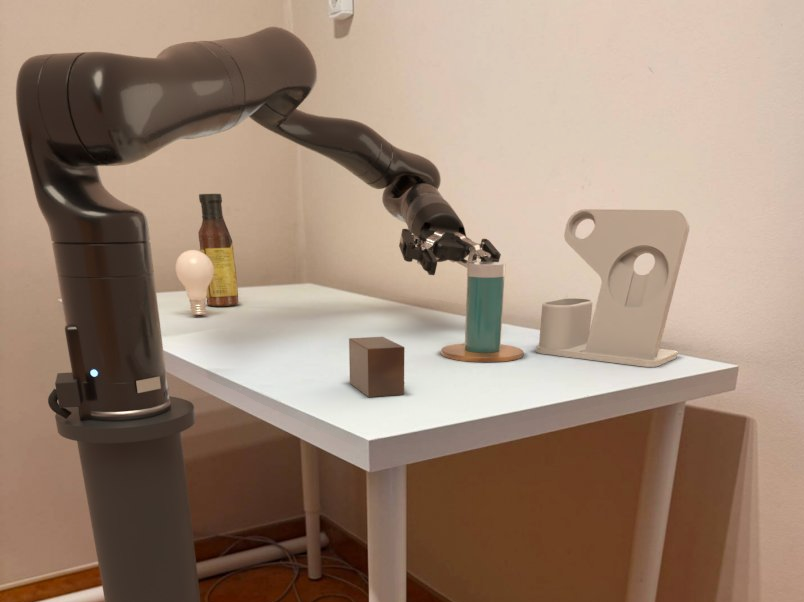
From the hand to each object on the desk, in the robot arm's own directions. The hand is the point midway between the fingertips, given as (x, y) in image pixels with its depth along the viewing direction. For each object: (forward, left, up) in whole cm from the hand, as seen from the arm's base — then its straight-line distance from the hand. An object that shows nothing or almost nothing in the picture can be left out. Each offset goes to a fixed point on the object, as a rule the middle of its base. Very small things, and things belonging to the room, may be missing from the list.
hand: (462, 271), depth 106 cm
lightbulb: (-32, +39, -10) cm, 52 cm away
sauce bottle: (-26, +54, -10) cm, 61 cm away
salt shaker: (0, -12, -8) cm, 15 cm away
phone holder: (+16, -14, -10) cm, 23 cm away
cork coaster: (0, -9, -10) cm, 13 cm away
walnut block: (-20, -24, -10) cm, 33 cm away
